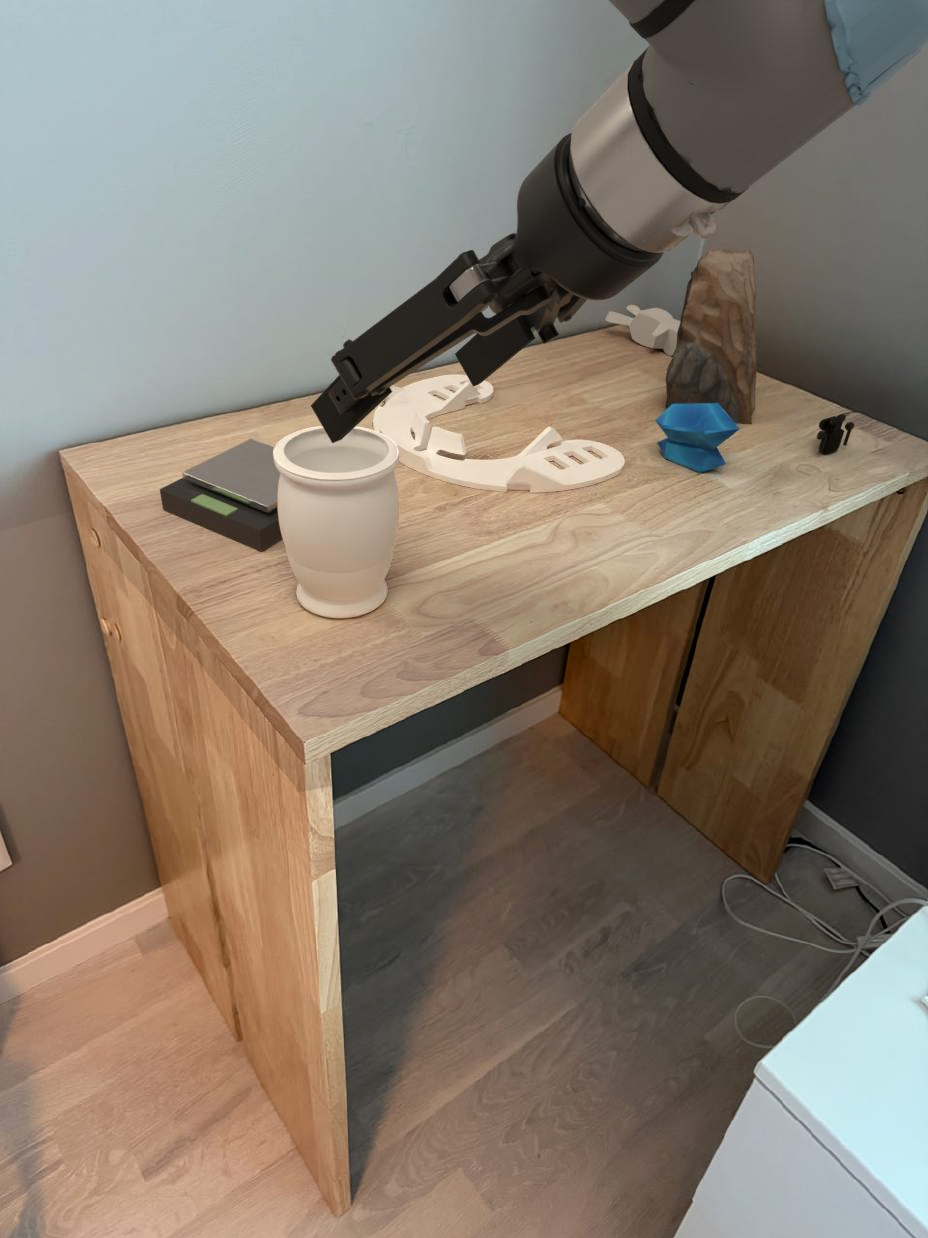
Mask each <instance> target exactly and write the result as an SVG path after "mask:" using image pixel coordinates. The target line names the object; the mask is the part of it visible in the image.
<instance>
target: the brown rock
mask: <svg viewBox="0 0 928 1238" xmlns="http://www.w3.org/2000/svg"><path fill="white" fill-rule="evenodd" d="M754 258H755V257H754V255H753V254H752V250H751V249H750V248H747V249H744V250H741V251H738V250H732V251H731V250H728V249H721V248H715V249H711V250H709V251H707V252H706V254H705V255H703V256H701V257H700V258H699V259H698V260H697V264H696V266H695V267H694V269H693V270H692V271H690V278H689V281H688V282H687V285H686V291H685V297H684V302H683V307H682V311H681V314H680V321H681V322H680V326H679V329H678V332H677V342H676V349H675V351H674V353H673V355H671V360H670V362H669V363H668V366H667V368H666V372H665V390H666V392H665V393H666V400H665V408H666V409H667V408H669V407H670V406H671V405H672V404H678V403H719V404H720V406H721V407H722V408H723V409H724V410H725V412H726V413H727V414H728V415H729V416H730V418H731V419H732V420H733V421H734V422H735V424H746V425H747V424H749V425H750V424H753V419H752V416H753V414H754V413H755V410H756V388H757V387H756V385H757V373H758V372H757V371H758V370H757V369H758V368H757V364H758V363H757V362H758V361H757V360H758V357H757V356H758V341H757V340H758V338H757V325H756V324H757V321H756V320H757V316H756V314H757V313H756V312H757V306H756V297H757V295H756V294H757V293H756V277H755V276H756V275H755V261H754Z"/></svg>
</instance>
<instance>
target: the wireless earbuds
mask: <svg viewBox="0 0 928 1238" xmlns="http://www.w3.org/2000/svg"><path fill="white" fill-rule="evenodd" d="M846 419H847V416H846V414H844V413H841V414H838V415H837V416H836V415H834V416H830V417H826V418H823V419H821V420H820V421H819V423H818V427H819V428H818V429H820V430H819V431H818V433H817V434H816V440H818V441H820V442H819V446H818V454H821V455H827V454H830V453H833V452H836V451H838V450H839V448H840V446H841V442H842V440H843V443H842V446H844V447H846V446H847V444H848V443H849V440H850V439H849V438H850V436H851V433H852V430H853V429H854V428H855V423H854V422H853V421H848V422H846V423H845V424H844V429H845V430H846V434H845V436H844V433H845V430H844V429H842V428H843V427H842V426H843V423H844V422H845V421H846ZM843 437H844V439H843Z"/></svg>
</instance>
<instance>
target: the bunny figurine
mask: <svg viewBox="0 0 928 1238" xmlns="http://www.w3.org/2000/svg"><path fill="white" fill-rule="evenodd" d="M625 309H626V312H627V314H628V315H625V314H622V313H620V312H617V311H616V312H615V311H612V310H609V311H608V312H607V314H606V317H605V321H606V322H608V323H611V324H617V325H622V326H628V329H629V332H630V336H631V340H633V341H634V342H635V343H637V344H639V345H641V346H643V347H647V348H650V349H657V350H658V349H660V350H663V352H664V353H665V355H668V356H669V357H670V356H671V357H672V355H673V353H674V351H675V349H676V342H677V332H678V329H679V326H680V322H681V320H679V319H676V318H674V317H673V315H672V314H671V313H669V312H668V311H667V310H665V309H662V308H660V307H652V308H645V309H641V308H640V307H639V306H637V305H635V304H628V305H627V306H626V307H625ZM629 315H630V316H629ZM631 316H632V317H631Z"/></svg>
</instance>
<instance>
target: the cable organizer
mask: <svg viewBox="0 0 928 1238" xmlns="http://www.w3.org/2000/svg"><path fill="white" fill-rule="evenodd" d="M390 389H391V391H392V393H391V394H389V395H388V396H387V397H386V398H385V399H384V400H383V401H382V402H381V403H383V402H385V404H384V405H383V406H381V405H378V406H377V407H376V408H375V411H374V414H373V419H372V421H373V422H372V426H373V429H372V430H374V431H377V432H380V433H382V434H384V435H386V436H388V437H389V438H391V439H392V440H393V441H394V442H395V443H396V445H397V447H398V450H399V463H401V464H402V465H404V466H406V467H408V468H409V469H411V470H413V471H416V472H418V473H419V474H422V475H424V476H427V477H431V478H433V479H434V480H435V479H436V480H438V481H443V482H444V483H445V482H446V483H449V484H452V485H457V486H461V487H464V488H465V487H466V488H471V489H477V490H483V491H489V492H501V493H507V491H508V490H513V491H514V490H515V491H517V490H518V491H529V493H530V494H537V493H539V494H541V493H553V492H555V493H556V492H563V491H571V490H575V489H582V488H585V487H589V486H593V485H597V484H600V483H602V482H605V481H607V480H610V479H612V478H615V477H617V476H618V475H620V474H621V473H622V472H623V470H624V468H625V462H626V461H625V456H624V455H623V454H622V453H621V452H620V451H619V450H618V449H616V448H615V447H612V446H611V445H608V444H605V443H603V442H599V441H594V440H589V439H568V440H564V438H563V437H562V436H561V435H560V434H559V433H558V431H556V429H555V428H554V427H552V426H547V427H546V428H545V429H544V430H542V432H541V433H540V434H539V435H538V436H536V437H535V438H534V440H532V441H531V442H530V443H529V444H528V445H527V446H526V447H525V448H524V449H523V450H522V451H521V452H520V453H518V455H514V456H509V457H505V458H496V459H472V458H465V459H463V460H461V459H454V458H450V457H446V456H443V455H441V451H443V452H448V453H450V454H456V455H461V456H465V455H466V454H467V448H466V444H465V438H464V436H463V435H462V434H461V433H459V432H454V431H450V430H447V429H445V428H442V427H439V426H437V425H436V426H432V427H431V421H430V419H432V418H434V417H438V416H441V415H444V414H448V413H452V412H456V411H459V410H463V409H466V406H468V405H471V404H472V405H473V404H476V403H478V404H480V405H482V404H484V403H487V402H488V401H490V400H491V399H492V398H493V397H494V387H493V385H492V384H491V383H490V382H489V381H487V380H486V379H485V380H484V381H483V382H482V383H481V384H479V385H476V386H474V387H473V385H472V384H471V382H470V380H469V378H468V377H467V375H466V374H442V375H438V376H434V377H429V378H425V379H421V380H419V381H415V382H412V383H409V384H407V385H405V386H402V387H399V386H396V385H392V386H390ZM453 391H454V392H453ZM441 398H442V399H441ZM443 399H444V400H443ZM412 434H414V437H413V435H412ZM556 442H558V445H556V446H553V447H550V448H549V447H548V446H549V445H550V444H552V443H556ZM590 451H591V452H592V453H594V454H596V455H597V456H599V457H600V458H598V457H596V456H594V455H593V454H591V453H590ZM571 457H573V458H576V459H577V460H579V462H582V463H579V462H577V461H575V460H574V459H572V458H571ZM551 462H554V463H556V464H557V465H559V466H560V467H562V469H560V468H558V467H557V466H556V465H554V464H552V463H551Z"/></svg>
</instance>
